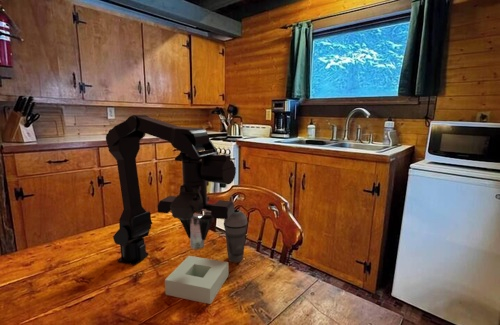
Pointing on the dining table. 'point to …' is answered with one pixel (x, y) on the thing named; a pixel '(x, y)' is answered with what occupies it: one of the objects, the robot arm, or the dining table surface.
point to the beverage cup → (235, 235)
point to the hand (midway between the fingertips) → (197, 238)
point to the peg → (196, 232)
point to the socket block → (197, 279)
